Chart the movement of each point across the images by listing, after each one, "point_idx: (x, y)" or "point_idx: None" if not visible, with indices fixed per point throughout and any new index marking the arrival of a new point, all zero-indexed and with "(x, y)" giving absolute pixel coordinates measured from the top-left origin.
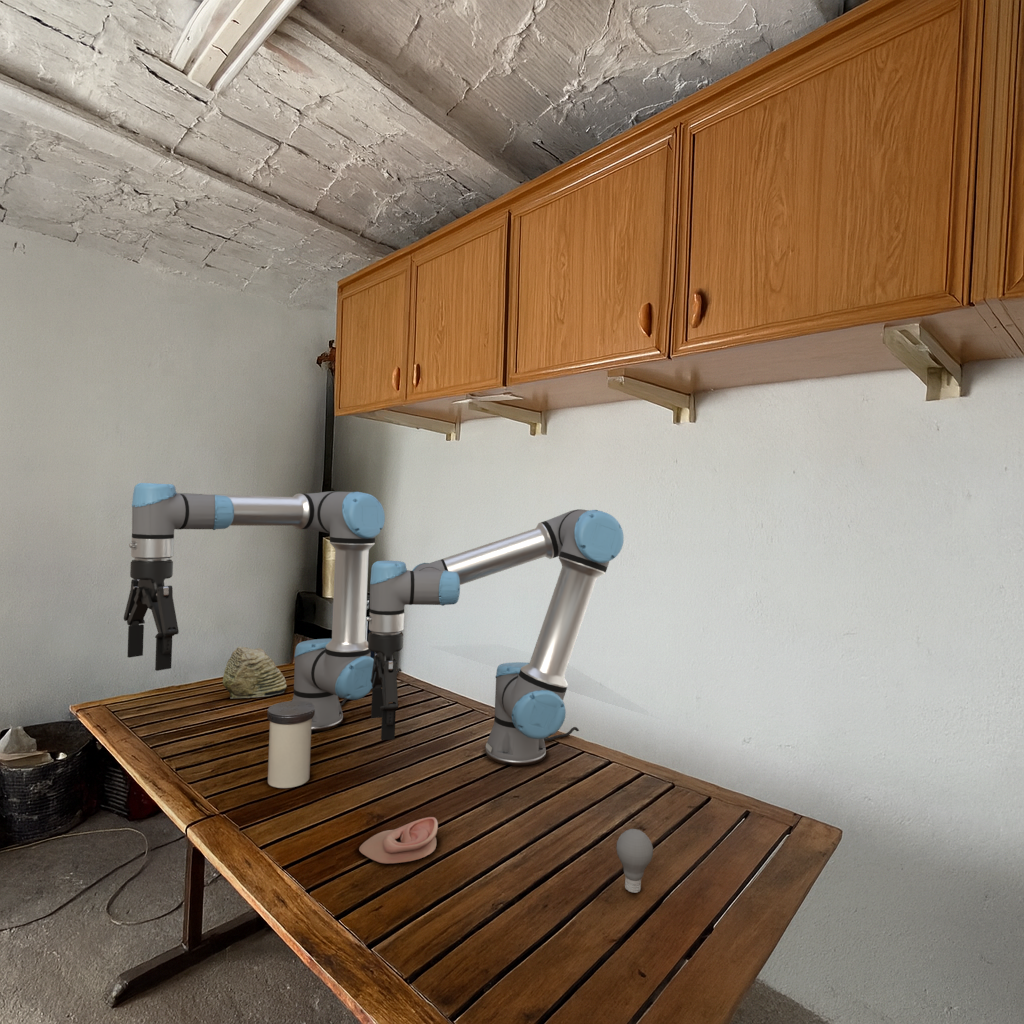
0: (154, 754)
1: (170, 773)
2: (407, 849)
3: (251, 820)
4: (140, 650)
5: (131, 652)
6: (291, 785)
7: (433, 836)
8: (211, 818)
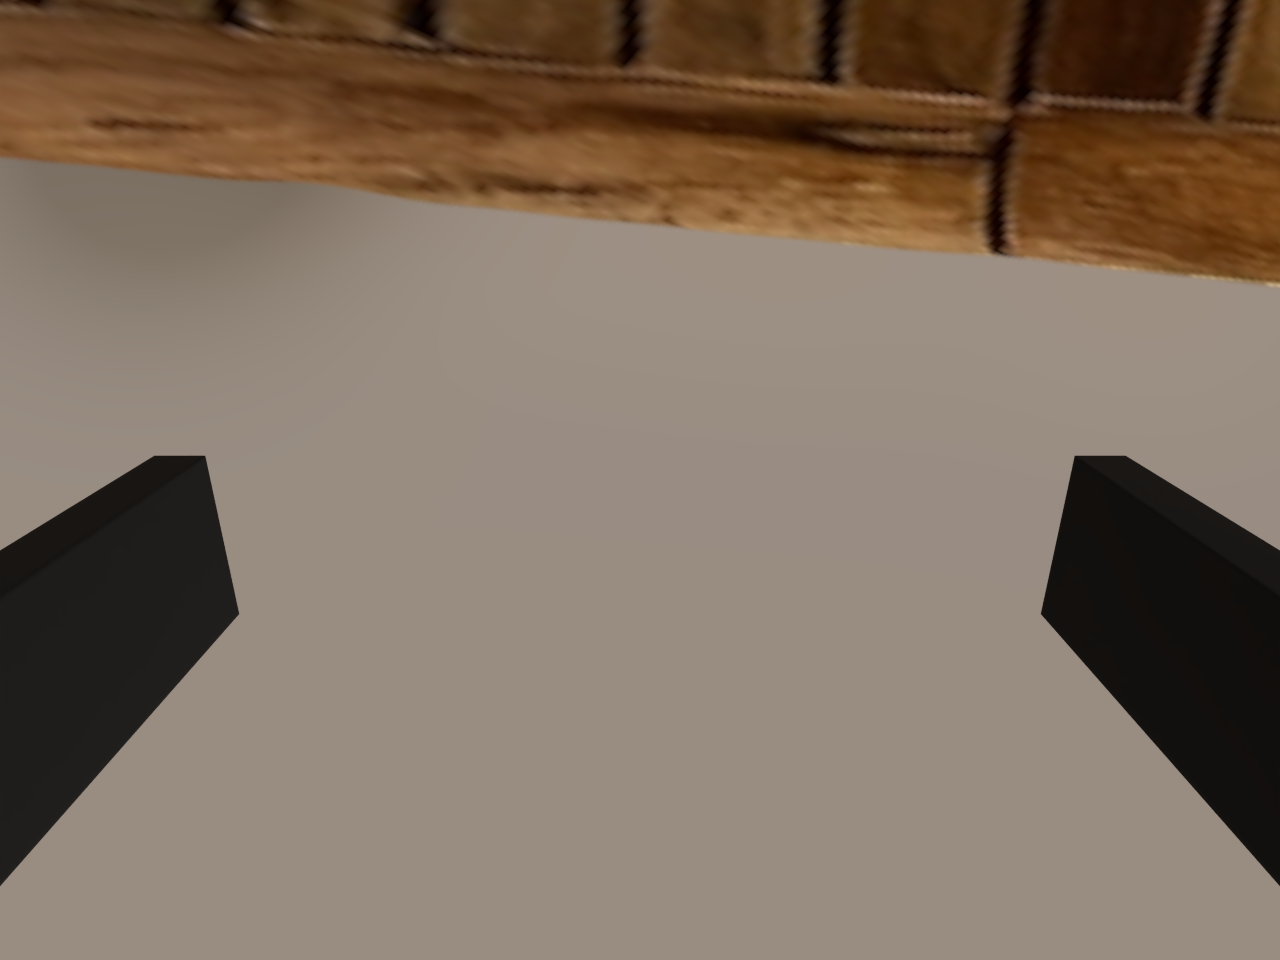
0: (145, 30)
1: (452, 79)
2: None
3: (1185, 37)
4: (170, 518)
5: (198, 620)
6: None
7: None
8: (1022, 157)
